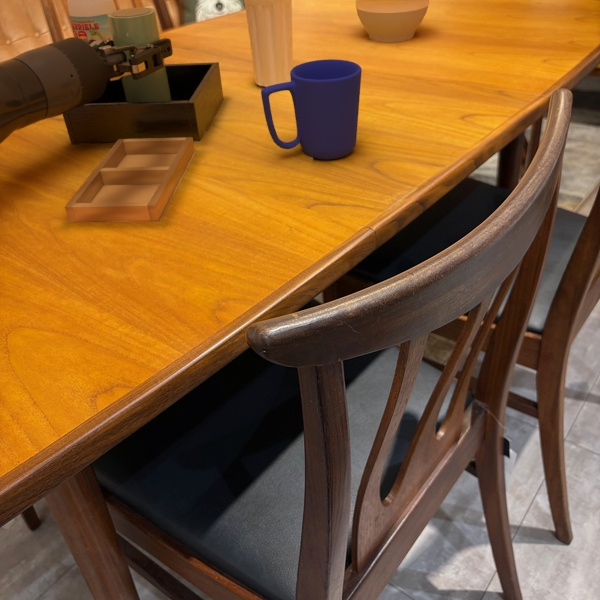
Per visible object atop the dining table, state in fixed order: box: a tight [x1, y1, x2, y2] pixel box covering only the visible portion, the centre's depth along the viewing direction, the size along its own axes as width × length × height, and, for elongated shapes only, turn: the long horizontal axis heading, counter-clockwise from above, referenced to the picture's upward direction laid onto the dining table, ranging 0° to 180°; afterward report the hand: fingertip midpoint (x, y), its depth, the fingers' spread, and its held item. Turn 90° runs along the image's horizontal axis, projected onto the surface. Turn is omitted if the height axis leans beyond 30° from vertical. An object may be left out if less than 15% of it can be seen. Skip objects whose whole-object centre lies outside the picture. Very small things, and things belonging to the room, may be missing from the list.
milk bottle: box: [66, 0, 117, 42], centre depth 101 cm, size 8×8×20 cm
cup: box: [243, 0, 294, 88], centre depth 95 cm, size 8×8×14 cm
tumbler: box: [107, 6, 172, 102], centre depth 83 cm, size 6×6×12 cm
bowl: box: [355, 0, 430, 43], centre depth 117 cm, size 16×16×9 cm
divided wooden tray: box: [64, 137, 197, 223], centre depth 70 cm, size 10×18×2 cm, turn 176°
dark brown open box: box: [62, 61, 225, 145], centre depth 87 cm, size 18×18×6 cm
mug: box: [260, 58, 363, 160], centre depth 73 cm, size 8×12×10 cm
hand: (150, 44), depth 84 cm, fingers closed on tumbler, 6 cm apart
